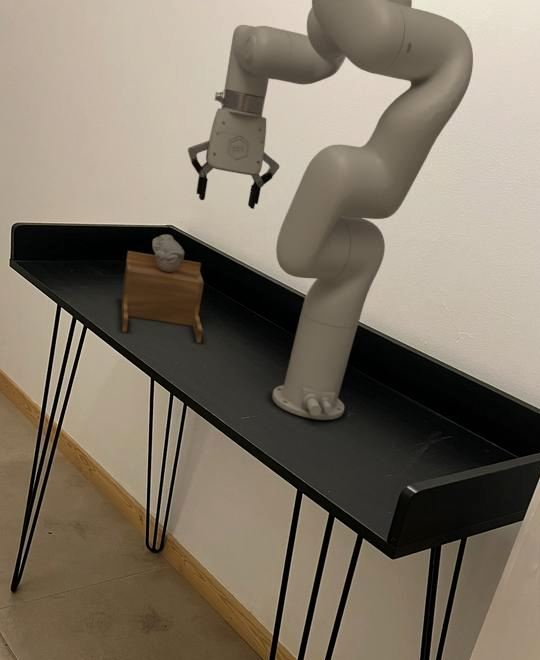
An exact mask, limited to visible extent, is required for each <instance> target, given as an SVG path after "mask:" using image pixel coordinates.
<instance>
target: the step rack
mask: <svg viewBox="0 0 540 660" xmlns="http://www.w3.org/2000/svg"><path fill="white" fill-rule="evenodd" d="M201 267H202V263H201V262H198V261H192V260H187V259H186V260H185V259H183V260H182V261H181V262H180V265H179V267H178V268H177V269H176V270H174V271H172V272H165V271H163V270H161V269H160V268H159V267H158V265H157V263H156V256H155V254H151V253H144V252H138V251H132V250H127V253H126V260H125V269H124V276H123V284H122V292H121V298H120V299H121V300H120V301H121V324H122V325H121V329H122V332H123V333H127V332H128V325H129V324H128V323H129V317H130V318H137V319H144V320H150V321H156V322H157V321H158V322H163V323H170V324H177V325H178V324H179V325H183V326H191V327H192V330H193V332H194V337H195V341H196V343H198V344H201V343H202V337H203V332H204V330H203V327H202V323H201V320H200V316H199V315H200V314H199V313H200V308H201V302H202V296H203V290H204V284H205V283H204V279H203V277H202V273H201Z"/></svg>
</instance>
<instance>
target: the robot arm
mask: <svg viewBox="0 0 540 660" xmlns="http://www.w3.org/2000/svg"><path fill="white" fill-rule="evenodd" d="M412 5H413V0H311V8H310V10H309V11H308V14H307V17H306V18H307V19H306V34H302V33H299V32H296V31H290V30H286V29H283V28H282V29H281V28H277V27H274V26H273V27H272V26H269V25H268V26H267V25H258V26H254V25H248V24H239V25H237V26H236V27H235V28H234V30H233V34H232V38H231V39H232V40H231V45H230V51H229V58H228V63H227V64H228V65H227V70H226V78H225V82H224V83H225V84H224V89H223V91H222V92H221V91H220V92H215V95H214V101H216V102H218V103H220V105H221V107H220V108H217V109H216V110H217V111H216V112H215V114H214V115H215V116H214V118H213V123H212V126H211V130H210V134H209V138H208V140H207V141H203V142H201V143H198V144H196V145H193V146H190V147H188V148H187V153H188V157H189V160H190V163H191V165H192V167H193V168H194V169H195V172H196V173H197V174H198V179H197V187H196V195H198V199H199V200H200V201H204V200H205V199H206V193H207V186H208V177H207V176H208V174H209V173H210V172H211V171H213V169H215V170H218V171H224V172H229V173H235V174H241V175H246V176H251V178H252V180H253V183H252V184H251V185H250V191H249V197H248V204H247V206H248V207H249V208H250V209H254V210H255V206H256V205H258V204H259V200H260V195H261V191H262V188H263V187H264V185H265V184H267V183H268V182H269V181H271V180H273V177H274V175H275V174H276V173H277V172H278V170H279V169H280V164H279V163H278V162H276V161H275V160H274V159H273V158H272V157H270V156H269V155H268V154H267V153H266V152H265V147H266V137H267V136H266V135H267V118H266V117H264V116H263V114H264V109H265V102H266V97H267V92H268V85H269V81H270V80H276V81H282V82H287V83H291V84H296V85H302V86H303V85H312V84H315V83H318V82H321V81H323V80H326V79H328V78H331V77H332V76H334V75H335V74H336V73H338V72H339V70H340V69H341V67H342V66H343V64H344V62H345V61H346V58H347V59H348V61H349V62H350V63H351V64H352V65H354V66H355V67H356V68H358V69H360V70H362V71H364V72H366V73H369V74H373V75H379V76H384V77H387V78H391V79H396V80H403V81H407V82H410V86H409V87H408V89H406V90H405V91H404V92H403V93H401V94H400V95H398V96H397V97H396V98H395V99H394V100H393V101H392V102H391V103H390V104H389V105H388V106H387V107H386V109H385V110H384V111H383V113H382V114H381V115H380V116H379V119H378V121H377V123H376V125H375V128H374V130H373V132H372V133H371V135H370V138H369V139H368V140H367V142H366V143H365V144H364V145H362V146H355V145H348V144H332V145H328V146H326V147H324V148H322V149H321V150H320V151H318V152H317V153H316V154H315V155H314V156H313V157H312V158H311V160H310V161H309V163H308V165H307V166H306V168H305V171H304V172H303V174H302V177H301V179H300V182H299V184H298V186H297V188H296V190H295V193H294V196H293V198H292V200H291V202H290V204H289V207H288V209H287V211H286V215H285V216H284V219H283V221H282V224H281V226H280V229H279V232H278V235H277V240H276V247H275V248H276V251H275V252H276V253H275V254H276V260H277V262H278V265H279V267H280V269H282V270H283V272H285V273H286V274H287V275H290V276H292V277H296V278H303V279H315V281H314V282H313V284H312V285H311V286H310V288H309V289H308V291H307V293H306V295H305V298H304V300H303V304H302V308H301V311H300V315H299V321H298V324H297V328H296V332H295V336H294V341H293V344H292V349H291V353H290V358H289V362H288V366H287V370H286V375H285V379H284V383H283V384H282V385H279V386H276V387H275V388H274V389H273V391H272V394H271V395H272V396H271V399H272V401H273V402H274V404H276V406H277V407H279V408H280V409H282V410H284V411H286V412H287V413H291V414H292V415H294V416H298V417H301V418H305V419H309V420H310V419H311V420H317V421H330V420H336V419H338V418H341V417H342V416H343V415H344V413H345V405H344V402H342V401H341V400H340V399H339V395H340V392H341V388H342V384H343V380H344V377H345V373H346V370H347V366H348V362H349V359H350V354H351V351H352V347H353V343H354V340H355V337H356V333H357V329H358V326H359V323H360V319H361V315H362V312H363V309H364V305H365V302H366V299H367V296H368V294H369V292H370V289H371V286H372V284H373V282H374V280H375V278H376V276H377V274H378V272H379V270H380V268H381V266H382V263H383V260H384V257H385V249H386V243H385V239H384V238H385V237H384V235H383V232H382V231H381V230H380V228H379V227H378V226H377V224H375V223H374V222H372V221H370V220H382V219H383V220H384V219H388V218H390V217H392V216H393V215H395V213H397V212H398V210H399V209H400V207H401V206H402V204H403V203H404V201H405V200H406V198H407V196H408V194H409V192H410V190H411V188H412V187H413V184H414V182H415V180H416V179H417V178H418V175H419V173H420V171H421V169H422V168H423V165H424V164H425V162H426V160H427V159H428V156H429V153H430V152H431V150H432V148H433V146H434V145H435V142H436V141H437V139H438V138H439V136H440V135H441V133H442V131H443V130H444V128H445V127H446V125H448V122H449V121H450V120H451V118H452V117H453V115H454V114H455V112H456V111H457V110H458V108H459V106H460V104H461V103H462V101H463V99H464V97H465V95H466V93H467V91H468V88H469V85H470V83H471V78H472V74H473V69H474V68H473V67H474V53H473V51H474V50H473V46H472V42H471V40H470V38H469V35H468V34H467V32H466V31H465V30H464V29H463V28H462V27H461V26H460V25H459V24H458V23H456V22H455V21H454V20H451V19H449V18H448V17H445V16H442V15H439V14H436V13H435V12H430V11H427V10H423V9H418V8H414V7H412ZM202 152H206V154H205V161H206V162H204V163H203V164H201V163H200V162H199V160H198V154H199V153H202ZM263 162H264V163H265V164H267V165H268V169H267V171H266V172H265V173H263V174H262V175H260V173H261V171H262V168H263ZM368 219H369V220H368Z"/></svg>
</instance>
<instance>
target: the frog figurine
mask: <svg viewBox="0 0 540 660" xmlns="http://www.w3.org/2000/svg"><path fill="white" fill-rule="evenodd" d="M151 245H152V250H153V253H154V255H155V256H156V263H157V265H158V267H159V268H160V269H161V270H163V271H165V272H172V271H174V270H176V269H177V268H178V267H179V265H180V262H181V261H182V260H184V258H185V251H184V248H183V247H182V245H180V243H179V242H178V241H176V240H175V239H174V237H173V235H171V234H161V235H159V236H156V237H155V238H153V239H152V244H151Z"/></svg>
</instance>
